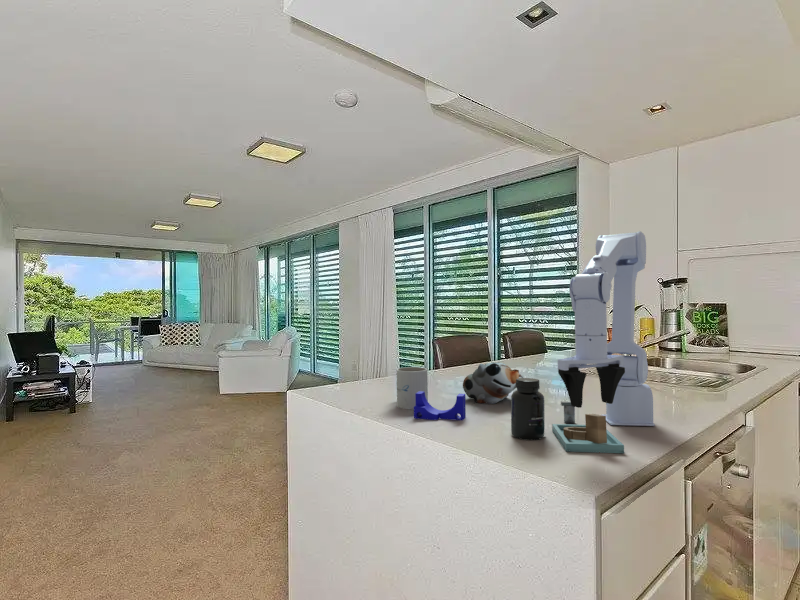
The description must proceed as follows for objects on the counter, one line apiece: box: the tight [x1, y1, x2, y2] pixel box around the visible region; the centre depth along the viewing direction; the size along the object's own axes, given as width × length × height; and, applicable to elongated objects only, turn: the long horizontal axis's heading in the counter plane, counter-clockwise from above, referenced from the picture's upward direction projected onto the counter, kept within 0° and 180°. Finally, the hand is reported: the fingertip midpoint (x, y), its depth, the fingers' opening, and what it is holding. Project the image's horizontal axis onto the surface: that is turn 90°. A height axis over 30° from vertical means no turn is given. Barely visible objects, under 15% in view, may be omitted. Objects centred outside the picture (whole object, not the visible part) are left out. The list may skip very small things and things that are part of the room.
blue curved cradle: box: [413, 391, 467, 421], centre depth 111 cm, size 12×4×6 cm, turn 70°
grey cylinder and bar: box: [560, 401, 576, 425], centre depth 105 cm, size 4×2×5 cm, turn 82°
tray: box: [551, 423, 625, 454], centre depth 91 cm, size 10×14×2 cm
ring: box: [563, 413, 607, 443], centre depth 89 cm, size 9×6×5 cm, turn 20°
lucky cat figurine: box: [462, 362, 524, 405], centre depth 129 cm, size 15×12×14 cm
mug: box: [396, 366, 429, 410], centre depth 126 cm, size 12×9×10 cm
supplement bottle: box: [510, 377, 546, 441], centre depth 95 cm, size 7×7×12 cm
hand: (592, 404), depth 87 cm, fingers open, 7 cm apart
